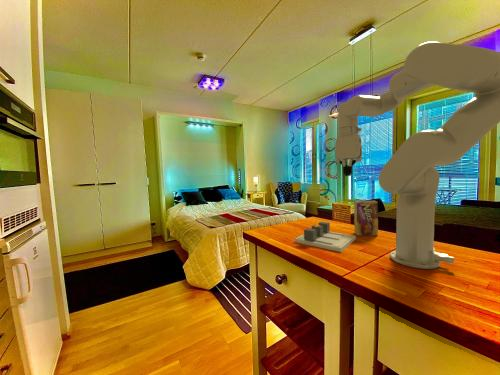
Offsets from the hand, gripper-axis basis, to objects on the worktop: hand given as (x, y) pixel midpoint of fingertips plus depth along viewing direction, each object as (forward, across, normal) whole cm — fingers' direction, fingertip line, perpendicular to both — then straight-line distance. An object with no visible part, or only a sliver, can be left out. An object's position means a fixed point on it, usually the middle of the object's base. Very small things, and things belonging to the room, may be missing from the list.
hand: (347, 175), depth 92 cm
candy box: (+27, -5, -9) cm, 29 cm away
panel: (+27, +6, +10) cm, 30 cm away
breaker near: (+25, +9, +17) cm, 32 cm away
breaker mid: (+25, +10, +10) cm, 29 cm away
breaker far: (+25, +9, +3) cm, 27 cm away
